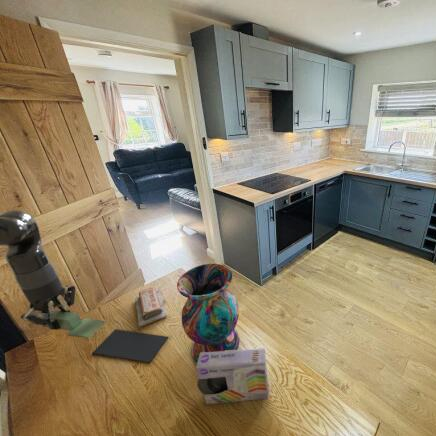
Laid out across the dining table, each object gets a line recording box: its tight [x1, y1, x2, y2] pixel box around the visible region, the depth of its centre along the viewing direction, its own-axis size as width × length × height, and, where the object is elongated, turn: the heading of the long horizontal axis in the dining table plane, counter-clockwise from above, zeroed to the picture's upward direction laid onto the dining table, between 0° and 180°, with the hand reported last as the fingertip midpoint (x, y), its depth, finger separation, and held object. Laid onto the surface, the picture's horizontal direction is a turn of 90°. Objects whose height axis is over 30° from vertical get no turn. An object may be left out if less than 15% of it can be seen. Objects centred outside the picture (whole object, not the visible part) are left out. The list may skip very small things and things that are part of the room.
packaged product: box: [134, 287, 168, 328], centre depth 101 cm, size 18×5×10 cm
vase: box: [176, 263, 240, 363], centre depth 80 cm, size 18×18×30 cm
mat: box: [91, 328, 169, 364], centre depth 86 cm, size 22×10×1 cm, turn 82°
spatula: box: [37, 309, 106, 339], centre depth 73 cm, size 18×6×4 cm, turn 82°
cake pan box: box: [195, 347, 269, 405], centre depth 68 cm, size 19×5×18 cm, turn 94°
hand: (62, 323), depth 74 cm, fingers closed on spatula, 3 cm apart
